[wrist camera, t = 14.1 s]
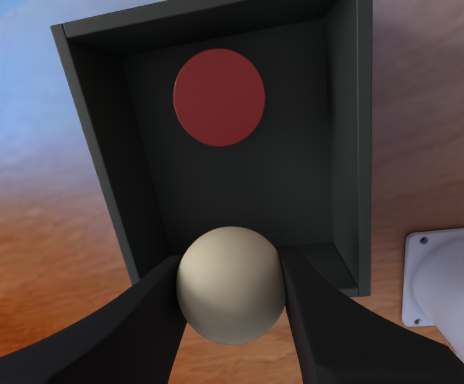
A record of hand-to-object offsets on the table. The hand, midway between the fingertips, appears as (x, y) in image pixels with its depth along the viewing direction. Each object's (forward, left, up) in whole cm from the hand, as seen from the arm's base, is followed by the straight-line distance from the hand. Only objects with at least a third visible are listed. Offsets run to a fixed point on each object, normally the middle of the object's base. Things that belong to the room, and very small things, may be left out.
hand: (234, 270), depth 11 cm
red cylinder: (0, -7, -8) cm, 10 cm away
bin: (0, -3, -8) cm, 9 cm away
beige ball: (0, 0, +1) cm, 1 cm away
